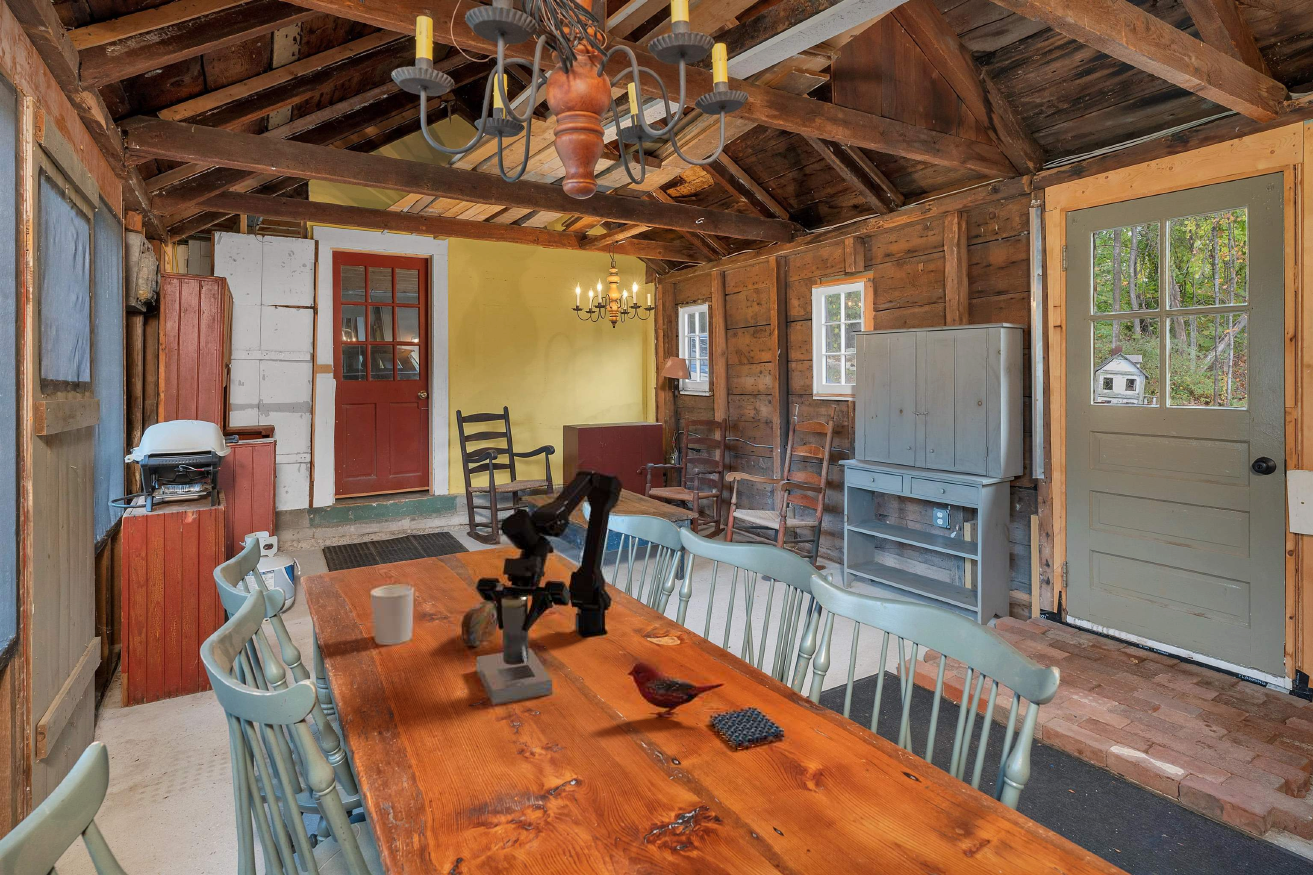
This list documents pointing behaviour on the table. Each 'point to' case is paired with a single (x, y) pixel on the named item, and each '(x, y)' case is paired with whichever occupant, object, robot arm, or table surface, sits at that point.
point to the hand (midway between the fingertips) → (512, 629)
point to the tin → (479, 623)
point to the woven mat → (747, 728)
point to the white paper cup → (392, 613)
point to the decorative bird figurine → (665, 688)
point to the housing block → (513, 678)
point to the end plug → (514, 628)
